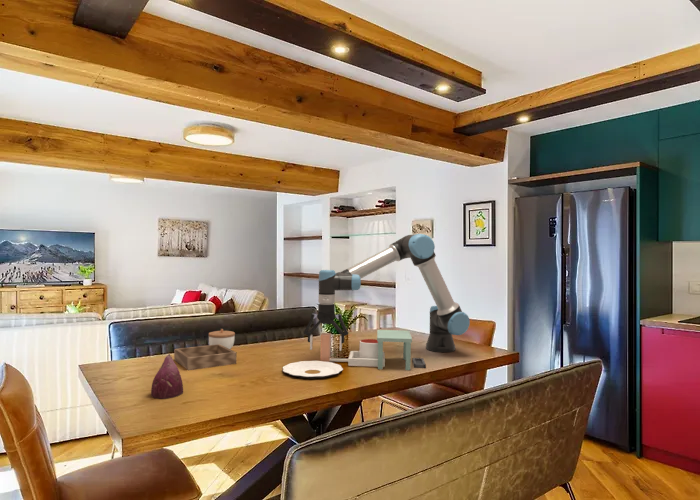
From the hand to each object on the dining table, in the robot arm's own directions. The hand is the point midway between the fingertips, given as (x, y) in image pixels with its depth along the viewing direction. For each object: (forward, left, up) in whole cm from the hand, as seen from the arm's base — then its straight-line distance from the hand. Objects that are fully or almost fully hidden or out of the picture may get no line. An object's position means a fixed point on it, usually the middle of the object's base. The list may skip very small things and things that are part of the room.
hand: (325, 349), depth 209 cm
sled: (-10, +8, -5) cm, 13 cm away
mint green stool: (-24, +20, -5) cm, 31 cm away
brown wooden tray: (+46, -28, -5) cm, 54 cm away
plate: (+14, +12, -6) cm, 19 cm away
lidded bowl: (+32, -45, -6) cm, 56 cm away
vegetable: (+72, +10, -6) cm, 73 cm away
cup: (-16, +13, -6) cm, 21 cm away
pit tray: (-32, +27, -5) cm, 43 cm away
